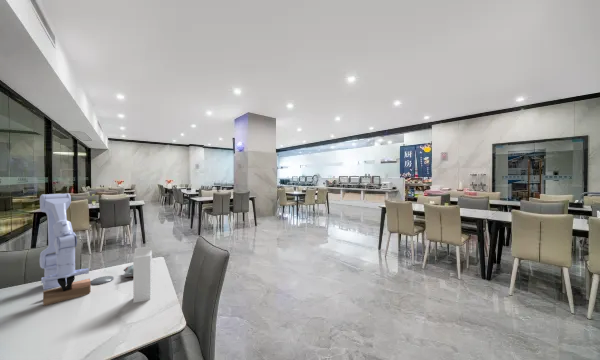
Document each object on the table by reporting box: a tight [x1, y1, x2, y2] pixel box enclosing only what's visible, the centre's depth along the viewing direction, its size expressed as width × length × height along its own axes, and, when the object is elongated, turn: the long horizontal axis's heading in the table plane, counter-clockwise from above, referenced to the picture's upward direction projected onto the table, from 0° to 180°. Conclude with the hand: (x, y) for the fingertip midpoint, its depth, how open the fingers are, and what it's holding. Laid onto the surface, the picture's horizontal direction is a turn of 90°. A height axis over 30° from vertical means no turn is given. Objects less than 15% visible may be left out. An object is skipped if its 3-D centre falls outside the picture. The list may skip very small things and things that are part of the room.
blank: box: [72, 278, 92, 293], centre depth 107 cm, size 4×6×5 cm, turn 137°
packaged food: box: [122, 264, 133, 278], centre depth 126 cm, size 9×12×5 cm
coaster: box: [90, 275, 115, 286], centre depth 119 cm, size 9×9×1 cm
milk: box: [132, 246, 153, 304], centre depth 102 cm, size 6×6×22 cm
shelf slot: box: [42, 285, 91, 307], centre depth 103 cm, size 8×14×4 cm, turn 137°
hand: (66, 294), depth 103 cm, fingers closed
